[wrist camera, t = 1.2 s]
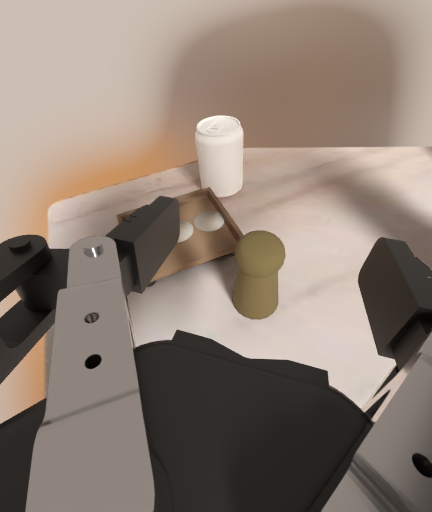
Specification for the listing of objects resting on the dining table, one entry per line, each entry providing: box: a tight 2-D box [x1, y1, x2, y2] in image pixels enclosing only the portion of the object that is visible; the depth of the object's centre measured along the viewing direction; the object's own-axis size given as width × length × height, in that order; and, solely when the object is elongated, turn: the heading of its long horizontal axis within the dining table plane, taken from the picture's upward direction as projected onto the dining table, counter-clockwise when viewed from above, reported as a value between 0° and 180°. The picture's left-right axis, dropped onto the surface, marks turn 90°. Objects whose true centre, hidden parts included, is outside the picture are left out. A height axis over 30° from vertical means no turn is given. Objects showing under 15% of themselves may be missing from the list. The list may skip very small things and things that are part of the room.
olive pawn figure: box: [233, 231, 285, 319], centre depth 29 cm, size 6×6×11 cm
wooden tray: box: [117, 187, 244, 287], centre depth 39 cm, size 16×13×4 cm
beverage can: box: [195, 116, 243, 197], centre depth 45 cm, size 8×8×12 cm
